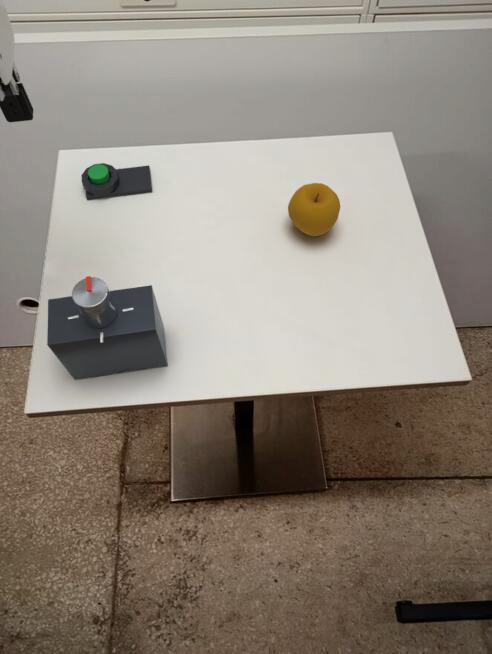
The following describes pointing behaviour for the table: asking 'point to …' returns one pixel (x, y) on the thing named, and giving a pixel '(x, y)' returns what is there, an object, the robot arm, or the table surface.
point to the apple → (314, 209)
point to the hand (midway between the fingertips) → (21, 116)
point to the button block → (119, 182)
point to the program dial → (94, 302)
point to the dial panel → (108, 336)
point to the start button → (98, 174)
